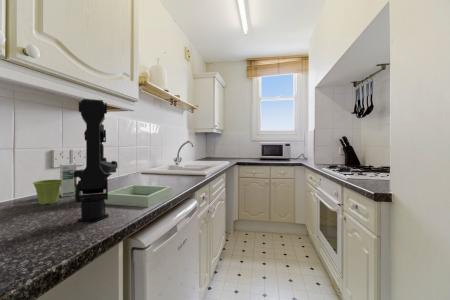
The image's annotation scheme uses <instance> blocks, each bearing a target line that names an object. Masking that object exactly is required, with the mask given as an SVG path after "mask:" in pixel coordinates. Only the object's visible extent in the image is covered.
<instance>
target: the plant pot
mask: <svg viewBox="0 0 450 300" xmlns="http://www.w3.org/2000/svg"><path fill="white" fill-rule="evenodd" d="M61 182H62V180H60V179H44V180H38V181H34V182H32V185H34V188H35V191H36V195H37V201H38V205H42V206H45V205H46V204H51V205H53V204H56V203H58V202H59V198H60V197H59V196H60V185H61Z"/></svg>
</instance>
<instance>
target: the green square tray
mask: <svg viewBox="0 0 450 300" xmlns="http://www.w3.org/2000/svg"><path fill="white" fill-rule="evenodd" d="M172 190H173V189H172V186H166V185H165V186H163V185H162V186H161V185H145V184H131V185H128V186H124V187H121V188H117V189H114V190H110V191H108V200H105V205H117V206H128V207H129V206H131V207H139V208H140V207H143V208H150V207H151V206H153V205H155V204H157V203H160V202H162V201H164V200H165V199H167V198H169V197H171V196H172V193H173V192H172Z"/></svg>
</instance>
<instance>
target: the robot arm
mask: <svg viewBox="0 0 450 300" xmlns="http://www.w3.org/2000/svg"><path fill="white" fill-rule="evenodd" d="M78 112H79V113H80V116H81V118H82V121H83V123H85V125H86V128H85V131H84V134H83V137H84V141H86V142H85V143H86V146H85V147H86V148H85V149H86V151H85V153H86V154H85V157H86V158H85V160H86V161H85V162H86V163H85V164H86V165H85V168H82V169H76V170H75V171H74V177H77V178H79V179H80V180H78V182H77V185H76V191H75V195H74V199H75V200H74V202H75V203H80V205H81V206H80V207H81V209H80V211H81V217H79V218H76V221H78V222H88V223H96V222H99V221H100V220H101V221H102V220H103V219H105V218H108V217H109V215H110V214H107V213H106V204H105V200H108V192H109V190H108V189H109V187H108V185H109V184H108V183H109V179H108V178H109V177H110V176H111V175H113V174H114V173H117V169H118V165H119V164H118V161H116V160H112V161H107V157H105V154H104V152H105V151H104V149H105V147H104V144H103V143H106V142H107V139H106V138H107V137H106V136H107V132H106V131H107V130H106V129H105V125H104V124H103V122H104V121H105V120H106V118H105V115H107V113H108V103H107V102H105V101H104V100H103V99H92V98H91V99H90V98H82V99H81V100H79V101H78ZM98 193H100V194H98Z"/></svg>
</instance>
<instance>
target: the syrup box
mask: <svg viewBox="0 0 450 300" xmlns="http://www.w3.org/2000/svg"><path fill="white" fill-rule="evenodd" d="M75 170H77V163H72V162H71V163H60V164H59V180H62V182H61V185H60V190H59V192H60V196H61V198H64V197H71V196H75V191H76V185H77V184H78V182H77V178H78V177H74V171H75Z"/></svg>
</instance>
